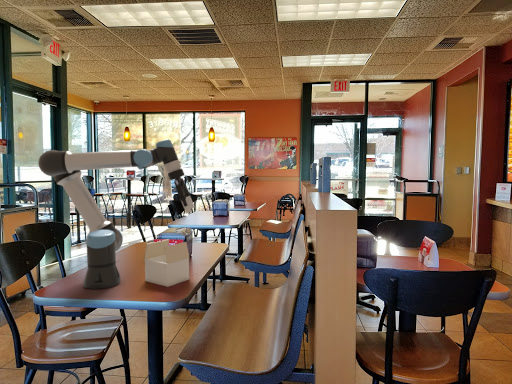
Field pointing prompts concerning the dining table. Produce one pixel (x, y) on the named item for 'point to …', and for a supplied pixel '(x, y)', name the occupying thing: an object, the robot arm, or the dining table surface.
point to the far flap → (155, 248)
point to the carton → (166, 271)
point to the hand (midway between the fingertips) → (190, 210)
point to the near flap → (176, 252)
